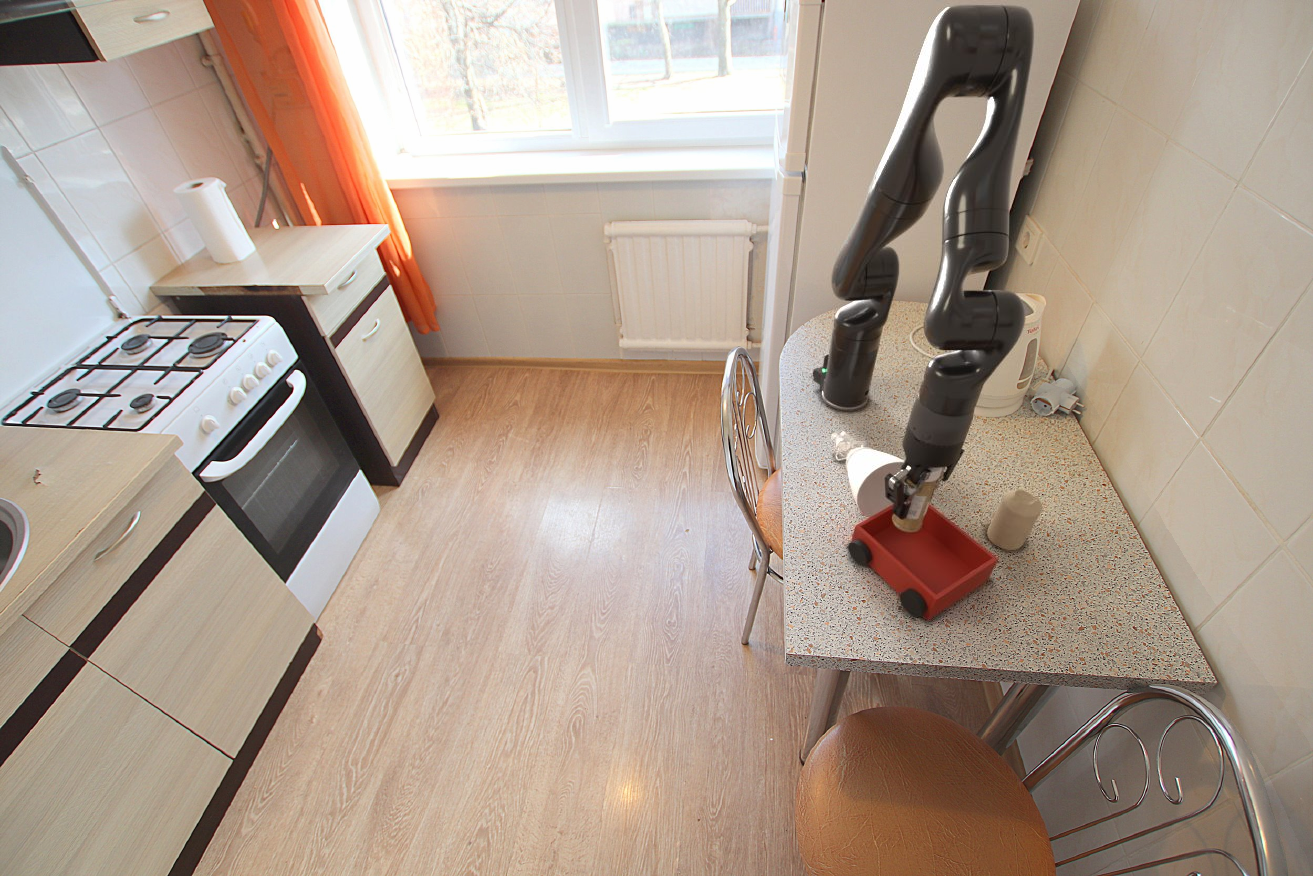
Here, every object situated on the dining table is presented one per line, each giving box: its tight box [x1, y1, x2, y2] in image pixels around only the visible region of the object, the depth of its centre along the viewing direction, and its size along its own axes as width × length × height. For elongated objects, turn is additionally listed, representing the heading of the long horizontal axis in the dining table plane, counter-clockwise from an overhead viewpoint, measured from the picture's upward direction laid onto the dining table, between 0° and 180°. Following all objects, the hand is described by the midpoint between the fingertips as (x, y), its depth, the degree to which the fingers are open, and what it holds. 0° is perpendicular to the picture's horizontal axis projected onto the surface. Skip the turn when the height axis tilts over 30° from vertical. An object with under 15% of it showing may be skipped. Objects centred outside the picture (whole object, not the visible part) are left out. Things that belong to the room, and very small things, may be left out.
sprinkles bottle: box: [892, 467, 942, 532], centre depth 92 cm, size 5×5×14 cm
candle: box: [986, 489, 1043, 551], centre depth 98 cm, size 6×6×10 cm
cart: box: [850, 504, 1000, 622], centre depth 97 cm, size 16×13×6 cm
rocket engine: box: [830, 430, 905, 519], centre depth 110 cm, size 12×12×18 cm
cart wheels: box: [847, 540, 927, 618], centre depth 97 cm, size 15×16×4 cm
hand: (910, 508), depth 95 cm, fingers closed on sprinkles bottle, 4 cm apart
